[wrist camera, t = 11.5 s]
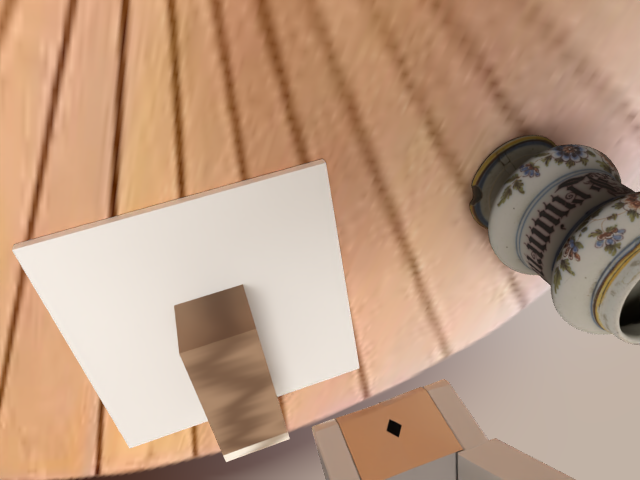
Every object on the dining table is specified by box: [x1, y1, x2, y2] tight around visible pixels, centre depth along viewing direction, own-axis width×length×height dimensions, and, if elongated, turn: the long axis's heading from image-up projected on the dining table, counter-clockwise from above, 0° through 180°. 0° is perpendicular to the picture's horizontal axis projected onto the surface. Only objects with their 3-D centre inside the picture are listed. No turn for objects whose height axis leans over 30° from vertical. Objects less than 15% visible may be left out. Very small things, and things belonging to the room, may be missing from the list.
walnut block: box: [174, 284, 289, 462], centre depth 47 cm, size 6×6×14 cm
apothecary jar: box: [470, 135, 640, 344], centre depth 43 cm, size 12×12×18 cm
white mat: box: [12, 159, 359, 448], centre depth 47 cm, size 24×24×1 cm
